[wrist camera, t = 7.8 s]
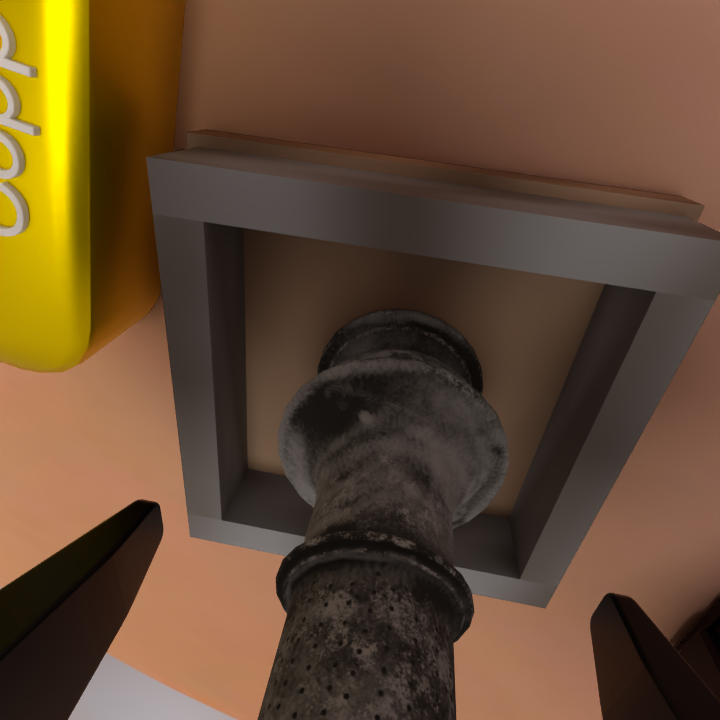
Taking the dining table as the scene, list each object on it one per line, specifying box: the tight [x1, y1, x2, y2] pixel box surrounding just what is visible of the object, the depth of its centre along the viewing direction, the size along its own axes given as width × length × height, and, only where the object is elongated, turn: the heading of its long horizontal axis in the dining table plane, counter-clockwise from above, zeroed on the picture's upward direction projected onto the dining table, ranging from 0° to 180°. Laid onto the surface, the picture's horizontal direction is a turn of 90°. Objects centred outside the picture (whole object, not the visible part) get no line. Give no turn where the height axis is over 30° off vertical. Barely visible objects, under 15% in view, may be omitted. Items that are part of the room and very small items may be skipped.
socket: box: [146, 130, 720, 608], centre depth 14 cm, size 13×13×4 cm
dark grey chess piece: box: [258, 309, 509, 720], centre depth 10 cm, size 6×6×12 cm
